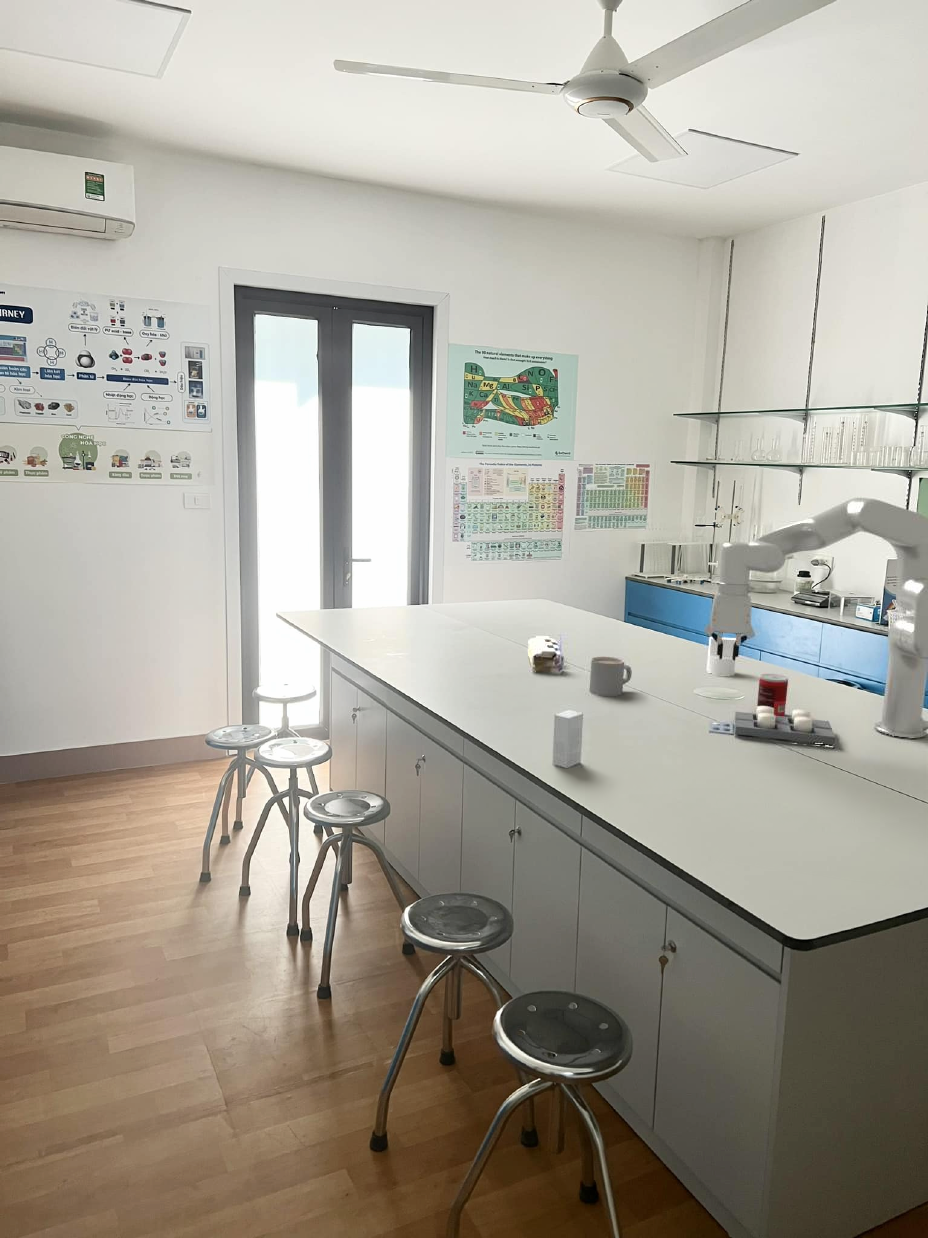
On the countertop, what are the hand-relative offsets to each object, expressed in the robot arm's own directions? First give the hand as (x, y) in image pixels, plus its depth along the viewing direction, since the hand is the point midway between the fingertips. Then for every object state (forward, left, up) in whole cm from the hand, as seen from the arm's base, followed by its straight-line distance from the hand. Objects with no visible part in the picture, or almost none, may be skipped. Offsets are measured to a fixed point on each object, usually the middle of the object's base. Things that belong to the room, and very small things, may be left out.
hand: (727, 658), depth 239 cm
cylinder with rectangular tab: (0, -68, -19) cm, 71 cm away
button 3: (-20, -4, -16) cm, 26 cm away
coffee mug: (+32, -27, -19) cm, 46 cm away
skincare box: (+34, +44, -19) cm, 59 cm away
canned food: (-14, -20, -19) cm, 31 cm away
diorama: (+58, -55, -20) cm, 83 cm away
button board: (-12, 0, -19) cm, 23 cm away
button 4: (-20, +4, -16) cm, 26 cm away
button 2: (-11, +4, -16) cm, 20 cm away
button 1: (-11, -4, -16) cm, 20 cm away
